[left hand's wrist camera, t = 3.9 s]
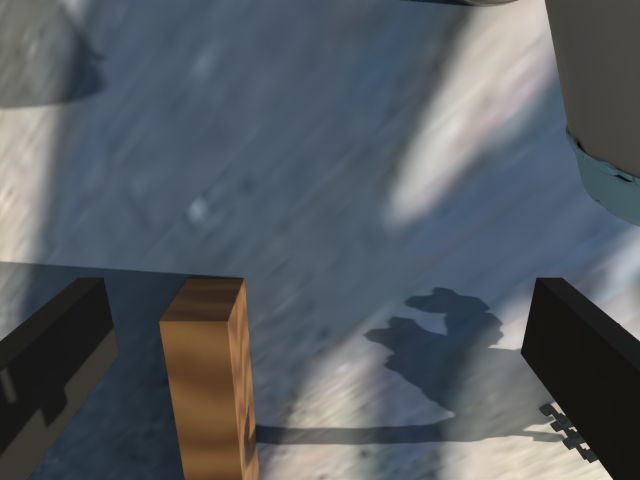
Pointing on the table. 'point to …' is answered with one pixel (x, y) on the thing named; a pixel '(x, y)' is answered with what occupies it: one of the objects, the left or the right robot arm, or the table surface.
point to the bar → (211, 379)
